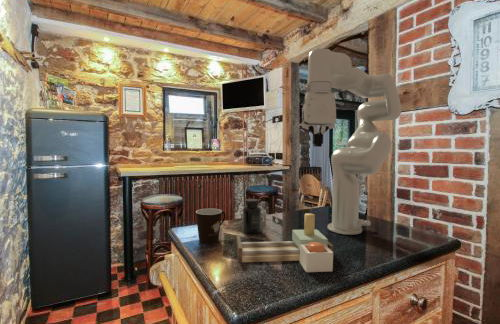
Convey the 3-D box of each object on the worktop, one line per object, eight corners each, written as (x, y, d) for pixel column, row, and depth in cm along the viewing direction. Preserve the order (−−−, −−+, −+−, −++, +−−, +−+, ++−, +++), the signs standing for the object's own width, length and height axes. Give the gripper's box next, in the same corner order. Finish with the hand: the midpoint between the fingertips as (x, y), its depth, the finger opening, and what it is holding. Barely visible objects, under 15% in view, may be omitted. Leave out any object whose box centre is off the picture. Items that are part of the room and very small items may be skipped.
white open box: (323, 261, 77) (324, 243, 77) (332, 271, 71) (333, 252, 71) (299, 262, 76) (300, 244, 76) (306, 272, 70) (306, 253, 70)
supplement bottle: (261, 229, 105) (262, 198, 104) (260, 235, 98) (260, 202, 97) (243, 228, 106) (244, 197, 105) (241, 234, 99) (241, 201, 98)
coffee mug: (200, 247, 86) (200, 215, 85) (192, 238, 94) (192, 209, 93) (234, 241, 91) (234, 212, 91) (224, 233, 99) (224, 206, 98)
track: (320, 246, 88) (320, 234, 88) (332, 259, 78) (333, 245, 78) (236, 248, 85) (236, 235, 85) (238, 262, 75) (238, 248, 75)
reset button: (320, 252, 76) (320, 241, 75) (326, 258, 72) (326, 247, 71) (305, 252, 75) (306, 242, 75) (310, 259, 71) (311, 248, 71)
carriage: (316, 238, 87) (317, 210, 87) (327, 249, 78) (328, 218, 78) (292, 239, 86) (292, 211, 86) (300, 250, 78) (300, 218, 77)
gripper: (300, 86, 84) (298, 146, 85) (346, 88, 86) (344, 147, 87) (293, 91, 92) (292, 146, 93) (336, 92, 93) (334, 146, 94)
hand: (317, 146), depth 90 cm, fingers closed
